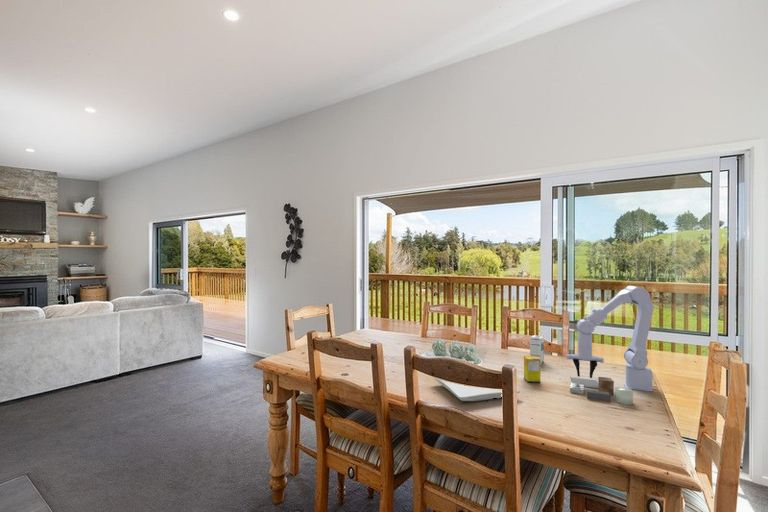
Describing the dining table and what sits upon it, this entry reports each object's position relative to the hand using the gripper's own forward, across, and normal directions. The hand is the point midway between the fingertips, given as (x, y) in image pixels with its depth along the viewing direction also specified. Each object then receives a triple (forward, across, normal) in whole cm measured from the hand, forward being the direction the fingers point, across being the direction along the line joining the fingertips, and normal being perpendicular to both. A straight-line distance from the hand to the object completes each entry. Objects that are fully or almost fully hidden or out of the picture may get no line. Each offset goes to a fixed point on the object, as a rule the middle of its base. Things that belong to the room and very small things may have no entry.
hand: (584, 376), depth 168 cm
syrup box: (+3, +20, -25) cm, 32 cm away
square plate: (+4, +45, +27) cm, 53 cm away
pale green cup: (+3, -12, +17) cm, 21 cm away
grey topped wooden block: (+4, +4, +11) cm, 12 cm away
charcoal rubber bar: (+3, -3, +18) cm, 18 cm away
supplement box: (+3, +22, +5) cm, 23 cm away
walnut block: (+3, -7, +9) cm, 12 cm away
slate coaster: (+3, 0, 0) cm, 3 cm away
